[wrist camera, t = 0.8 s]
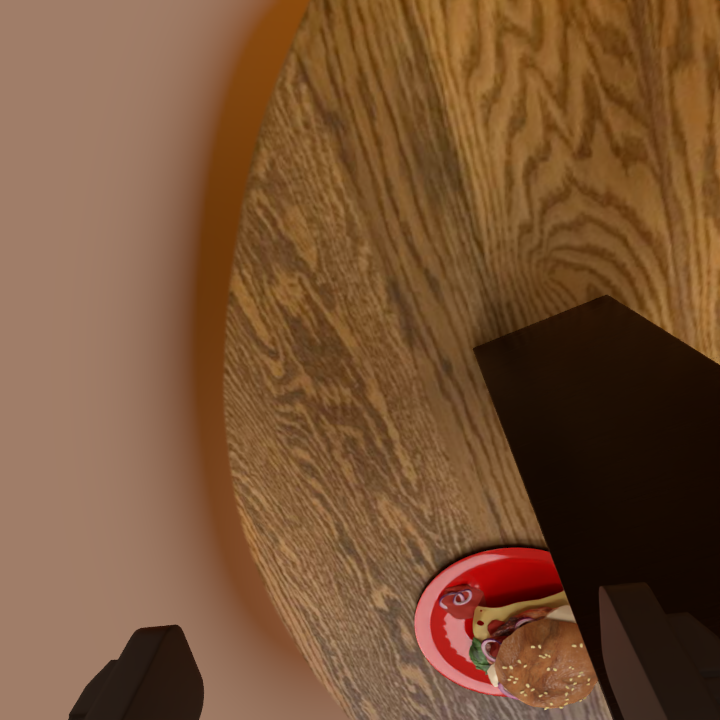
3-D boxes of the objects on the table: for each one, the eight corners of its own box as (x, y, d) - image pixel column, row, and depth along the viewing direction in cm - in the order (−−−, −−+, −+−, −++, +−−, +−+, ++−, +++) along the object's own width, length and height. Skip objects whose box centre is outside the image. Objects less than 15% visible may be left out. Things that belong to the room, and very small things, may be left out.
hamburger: (590, 523, 35) (626, 592, 29) (627, 674, 39) (665, 759, 33) (389, 568, 37) (386, 639, 32) (444, 705, 41) (451, 789, 36)
